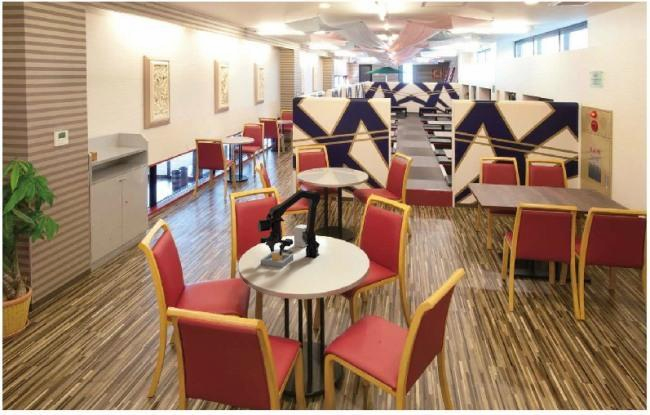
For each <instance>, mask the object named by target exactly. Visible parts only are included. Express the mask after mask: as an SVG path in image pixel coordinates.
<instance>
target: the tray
mask: <svg viewBox="0 0 650 415" xmlns="http://www.w3.org/2000/svg"><path fill="white" fill-rule="evenodd" d="M293 261H294V254H291V253H290V254H285V253H282V260H281V261H273V260H272V252H271V251H270V253H268V254H267V255H266V256H264V257H262V258H261V259H260V265H261V266H267V267H273V268H275V267H276V268H281V269H283V268H284V267H286V266H287V265H288V264H290V263H291V262H293Z"/></svg>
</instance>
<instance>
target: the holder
mask: <svg viewBox="0 0 650 415" xmlns="http://www.w3.org/2000/svg"><path fill="white" fill-rule="evenodd" d="M283 253H284V254H290V255H291V254H292V253H293V250H292V249H285V248H284V250H283Z"/></svg>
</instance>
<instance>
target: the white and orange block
mask: <svg viewBox="0 0 650 415" xmlns="http://www.w3.org/2000/svg"><path fill="white" fill-rule="evenodd" d="M272 260H273V261H281V260H282V255H281V256H280V248H279V249H278V248H277V249H274V251H273V252H272Z"/></svg>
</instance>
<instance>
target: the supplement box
mask: <svg viewBox="0 0 650 415" xmlns="http://www.w3.org/2000/svg"><path fill="white" fill-rule="evenodd" d="M306 227H307V224H302V223H301V224H298V225H296V226H293V244H294V245H293V246H295V247H297V248H298V247H299V248H305V247H307V245H306V243H305V242H304V241H303V238H302V232H303V231H304V232H305V230H306Z"/></svg>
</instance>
